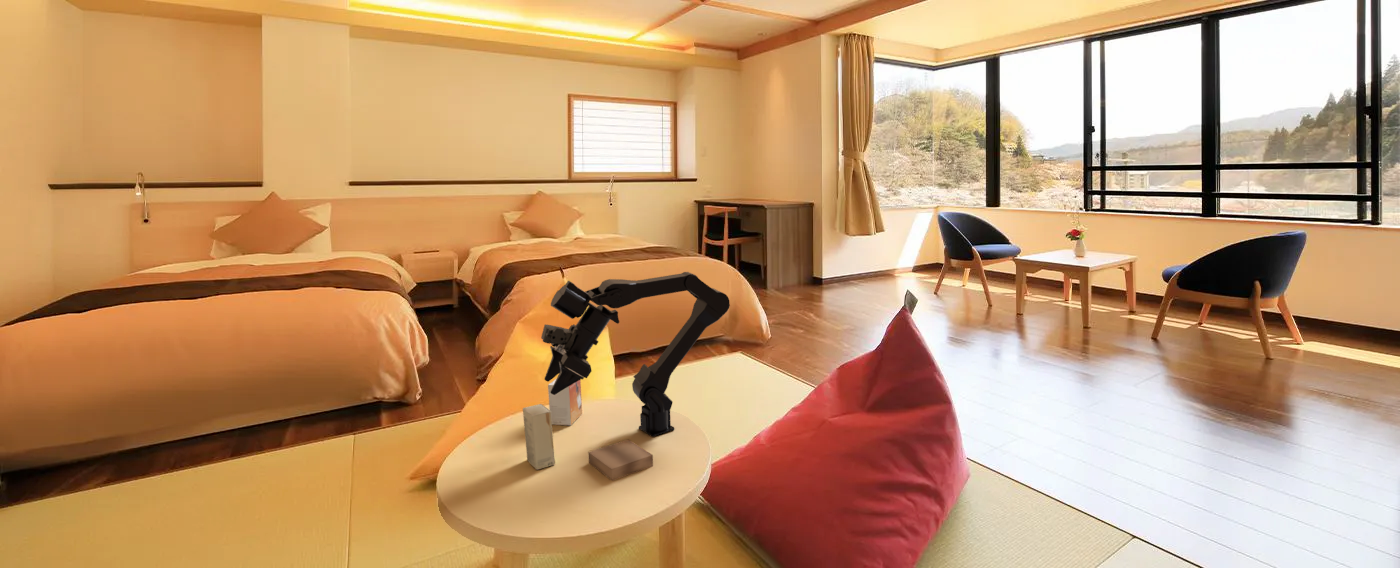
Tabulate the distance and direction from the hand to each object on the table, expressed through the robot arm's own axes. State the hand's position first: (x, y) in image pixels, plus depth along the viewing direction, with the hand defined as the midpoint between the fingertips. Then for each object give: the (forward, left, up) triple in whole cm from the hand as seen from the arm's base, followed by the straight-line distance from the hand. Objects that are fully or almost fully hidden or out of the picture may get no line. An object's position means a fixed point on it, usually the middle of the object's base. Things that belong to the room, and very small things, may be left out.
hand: (549, 387), depth 143 cm
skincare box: (+5, +5, -15) cm, 16 cm away
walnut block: (-8, +17, -15) cm, 24 cm away
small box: (-10, -13, -15) cm, 22 cm away
